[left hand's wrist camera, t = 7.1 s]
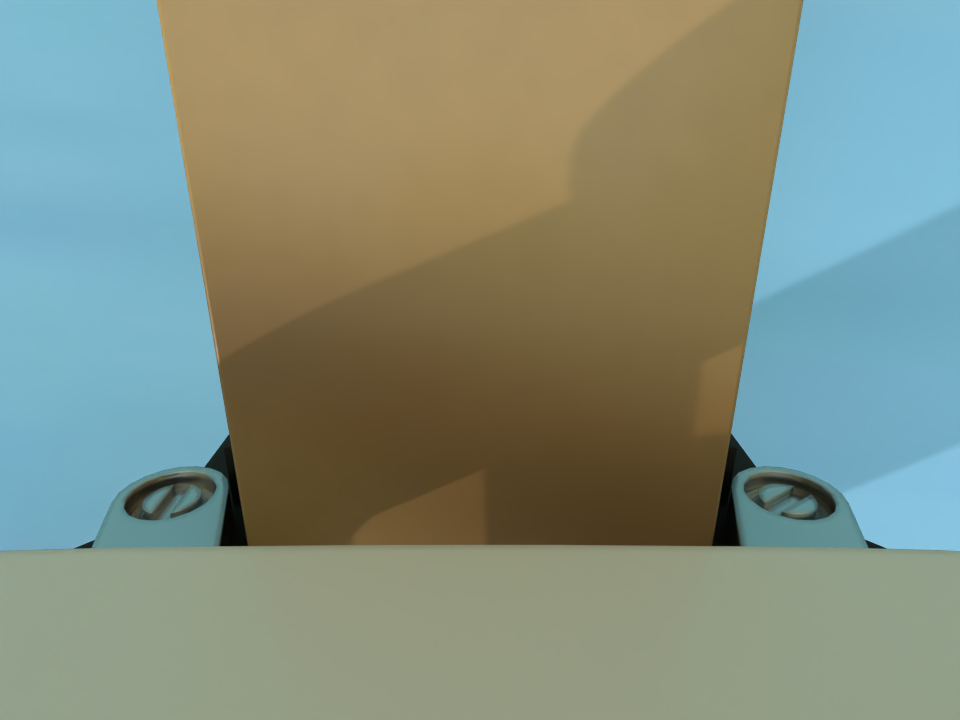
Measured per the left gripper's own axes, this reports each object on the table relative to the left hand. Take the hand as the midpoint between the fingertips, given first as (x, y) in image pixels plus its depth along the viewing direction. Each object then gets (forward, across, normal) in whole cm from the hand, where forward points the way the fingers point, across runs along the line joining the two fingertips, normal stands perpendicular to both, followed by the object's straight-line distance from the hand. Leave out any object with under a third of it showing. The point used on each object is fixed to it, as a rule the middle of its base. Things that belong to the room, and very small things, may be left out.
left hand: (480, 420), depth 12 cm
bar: (+2, 0, -24) cm, 24 cm away
